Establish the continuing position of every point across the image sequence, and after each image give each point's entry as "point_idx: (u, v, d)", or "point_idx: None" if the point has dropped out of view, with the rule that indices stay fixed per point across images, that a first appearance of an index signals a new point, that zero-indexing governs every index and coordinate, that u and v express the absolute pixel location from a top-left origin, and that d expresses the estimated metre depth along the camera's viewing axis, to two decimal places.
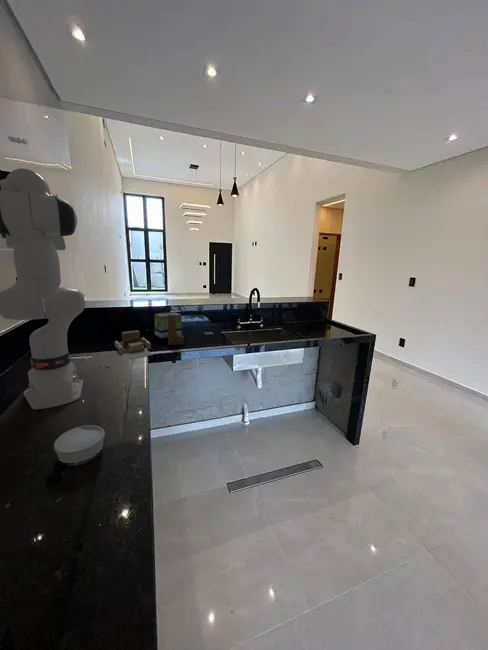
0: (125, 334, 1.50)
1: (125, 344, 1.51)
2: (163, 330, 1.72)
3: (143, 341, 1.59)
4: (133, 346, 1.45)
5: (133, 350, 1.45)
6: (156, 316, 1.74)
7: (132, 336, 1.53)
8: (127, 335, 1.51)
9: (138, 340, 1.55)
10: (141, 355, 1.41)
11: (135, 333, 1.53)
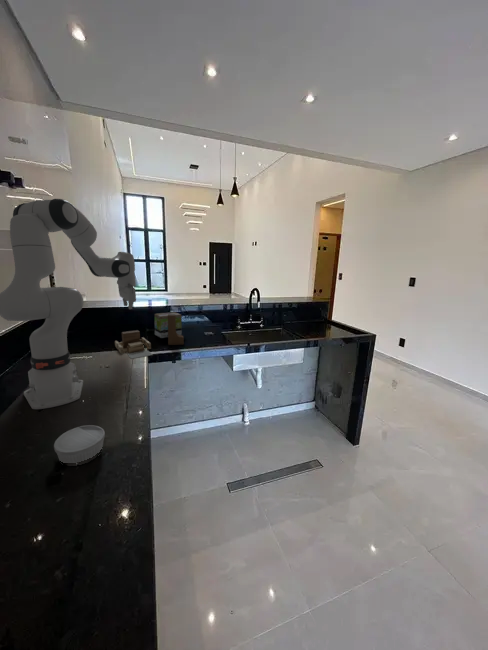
0: (125, 334, 1.50)
1: (125, 344, 1.51)
2: (163, 330, 1.72)
3: (143, 341, 1.59)
4: (133, 346, 1.45)
5: (133, 350, 1.45)
6: (156, 316, 1.74)
7: (132, 336, 1.53)
8: (127, 335, 1.51)
9: (138, 340, 1.55)
10: (141, 355, 1.41)
11: (135, 333, 1.53)
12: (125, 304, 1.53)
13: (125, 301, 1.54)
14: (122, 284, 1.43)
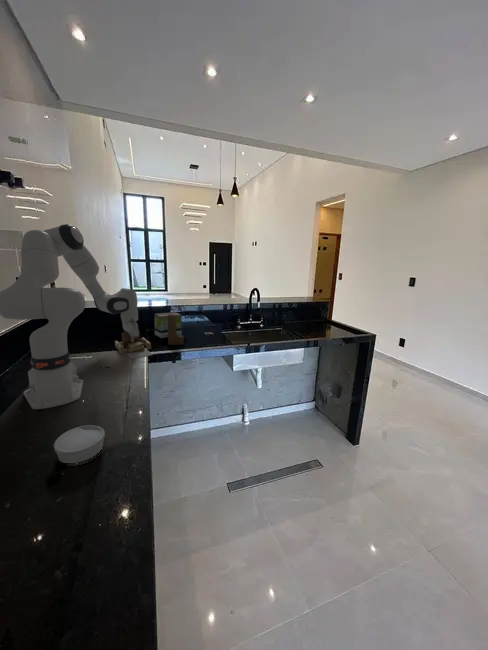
0: (125, 334, 1.50)
1: (125, 344, 1.51)
2: (163, 330, 1.72)
3: (143, 341, 1.59)
4: (133, 346, 1.45)
5: (133, 350, 1.45)
6: (156, 316, 1.74)
7: None
8: (127, 335, 1.51)
9: (138, 340, 1.55)
10: (141, 355, 1.41)
11: None
12: None
13: None
14: (125, 319, 1.47)
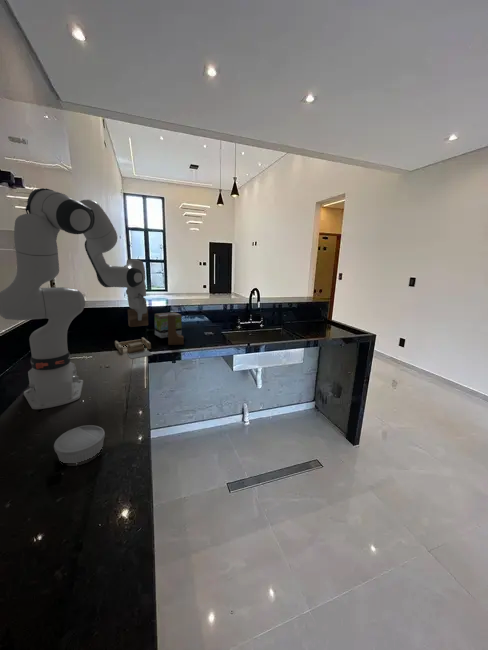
0: (132, 311, 1.33)
1: (131, 323, 1.35)
2: (163, 330, 1.72)
3: (143, 341, 1.59)
4: (133, 346, 1.45)
5: (133, 350, 1.45)
6: (156, 316, 1.74)
7: None
8: (134, 312, 1.34)
9: (146, 319, 1.39)
10: (141, 355, 1.41)
11: None
12: None
13: None
14: (132, 294, 1.30)
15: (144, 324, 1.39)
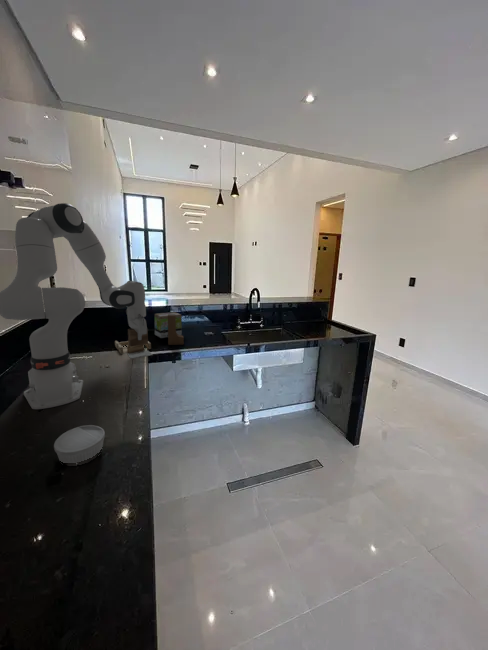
0: (132, 331, 1.36)
1: (132, 342, 1.38)
2: (163, 330, 1.72)
3: None
4: (133, 346, 1.45)
5: (133, 350, 1.45)
6: (156, 316, 1.74)
7: None
8: (134, 332, 1.37)
9: (146, 338, 1.42)
10: (141, 355, 1.41)
11: None
12: None
13: None
14: (132, 315, 1.33)
15: (144, 343, 1.42)
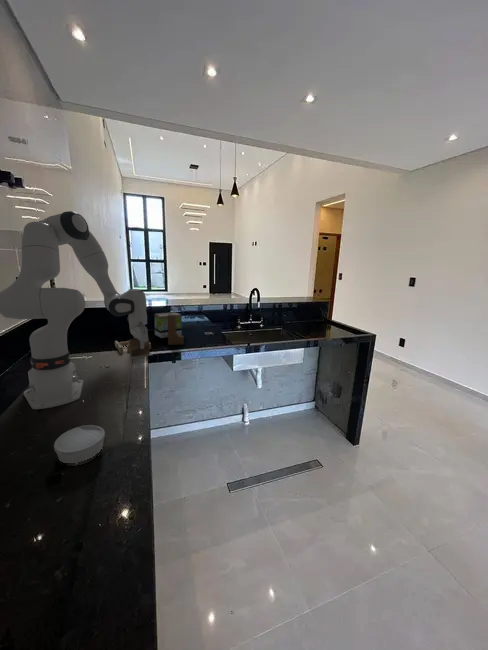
0: (133, 341, 1.37)
1: (133, 352, 1.38)
2: (163, 330, 1.72)
3: None
4: None
5: None
6: (156, 316, 1.74)
7: None
8: (135, 343, 1.38)
9: (147, 348, 1.42)
10: (141, 355, 1.41)
11: None
12: None
13: None
14: (133, 323, 1.34)
15: (145, 353, 1.42)
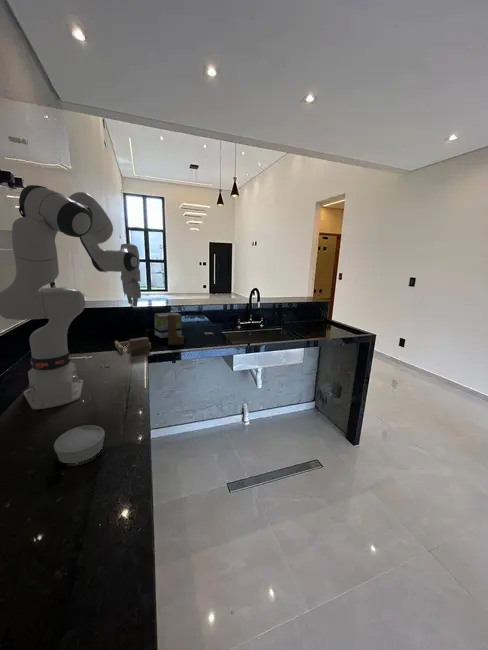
0: (133, 341, 1.37)
1: (133, 352, 1.38)
2: (163, 330, 1.72)
3: None
4: None
5: None
6: (156, 316, 1.74)
7: (140, 343, 1.40)
8: (135, 343, 1.38)
9: (147, 348, 1.42)
10: (141, 355, 1.41)
11: (144, 340, 1.40)
12: (130, 302, 1.40)
13: (130, 298, 1.41)
14: (126, 279, 1.30)
15: (145, 353, 1.42)
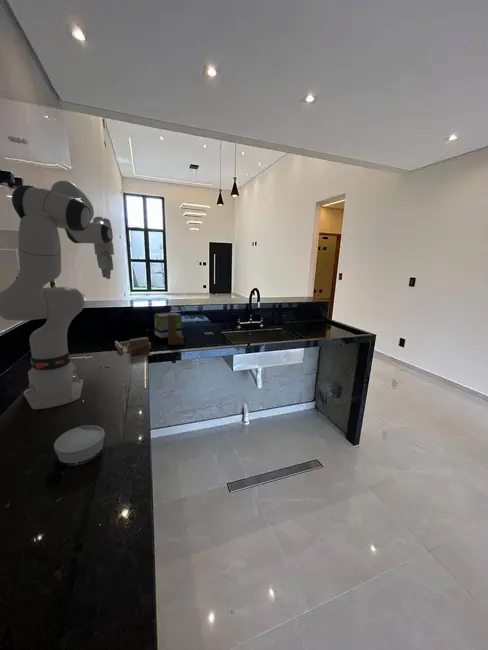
0: (133, 341, 1.37)
1: (133, 352, 1.38)
2: (163, 330, 1.72)
3: None
4: None
5: None
6: (156, 316, 1.74)
7: (140, 343, 1.40)
8: (135, 343, 1.38)
9: (147, 348, 1.42)
10: (141, 355, 1.41)
11: (144, 340, 1.40)
12: (104, 275, 1.45)
13: (104, 272, 1.46)
14: (98, 252, 1.35)
15: (145, 353, 1.42)
